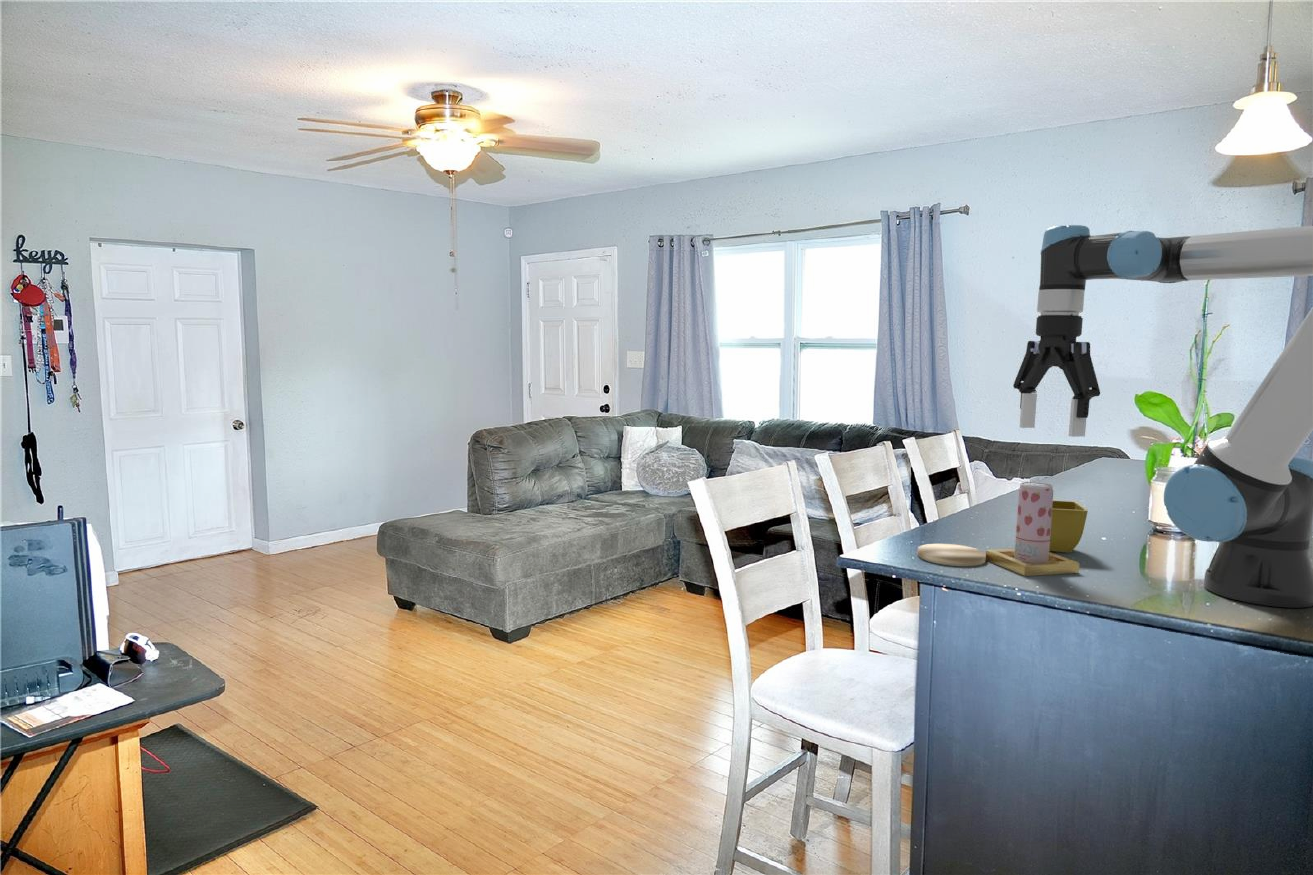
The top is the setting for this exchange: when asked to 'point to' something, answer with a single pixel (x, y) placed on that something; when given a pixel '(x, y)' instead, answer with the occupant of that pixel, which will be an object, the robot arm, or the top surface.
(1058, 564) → the square wooden tray
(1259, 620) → the top surface
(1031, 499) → the pink strawberry drink can
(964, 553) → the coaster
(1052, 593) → the top surface
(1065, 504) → the flower pot
